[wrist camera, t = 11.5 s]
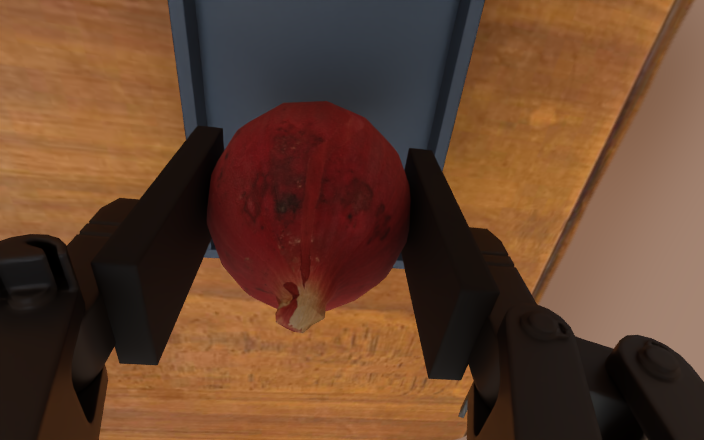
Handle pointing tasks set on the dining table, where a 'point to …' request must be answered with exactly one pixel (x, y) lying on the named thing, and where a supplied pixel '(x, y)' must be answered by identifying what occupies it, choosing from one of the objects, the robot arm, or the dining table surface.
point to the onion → (308, 209)
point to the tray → (327, 63)
